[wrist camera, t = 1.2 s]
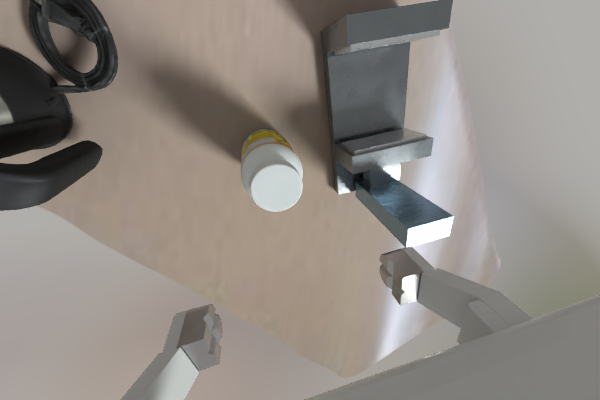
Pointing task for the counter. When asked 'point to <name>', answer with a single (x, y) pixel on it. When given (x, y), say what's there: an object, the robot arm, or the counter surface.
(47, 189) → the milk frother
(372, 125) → the vise base
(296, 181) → the supplement bottle
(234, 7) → the counter surface
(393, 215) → the sliding jaw
